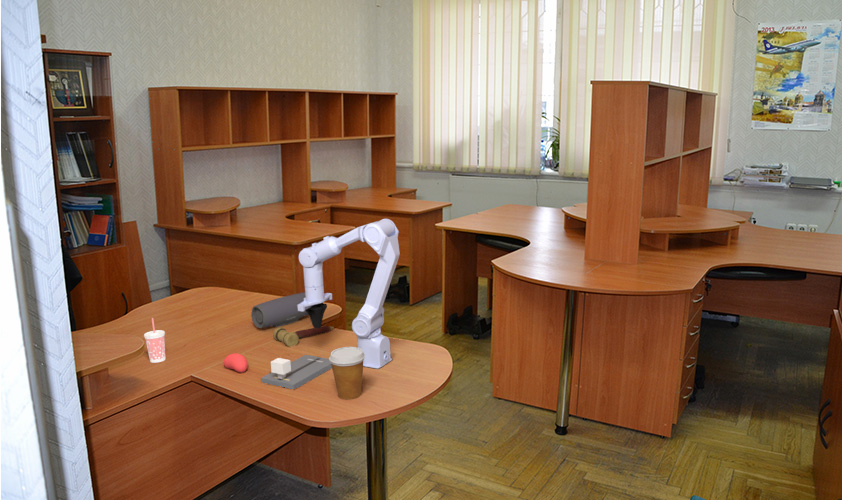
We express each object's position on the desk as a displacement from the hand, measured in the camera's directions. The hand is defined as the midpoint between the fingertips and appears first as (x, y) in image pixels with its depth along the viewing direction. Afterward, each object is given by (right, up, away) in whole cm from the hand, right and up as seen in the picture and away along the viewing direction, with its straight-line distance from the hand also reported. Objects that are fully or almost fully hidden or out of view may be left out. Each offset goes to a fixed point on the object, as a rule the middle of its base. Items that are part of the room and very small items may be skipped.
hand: (317, 327), depth 202 cm
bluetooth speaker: (-18, -3, +36) cm, 41 cm away
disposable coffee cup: (+13, -15, -28) cm, 34 cm away
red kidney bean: (-23, -12, -7) cm, 27 cm away
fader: (-7, -12, -19) cm, 24 cm away
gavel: (-7, -6, +21) cm, 23 cm away
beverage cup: (-51, -11, +4) cm, 53 cm away
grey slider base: (-3, -12, -12) cm, 17 cm away
